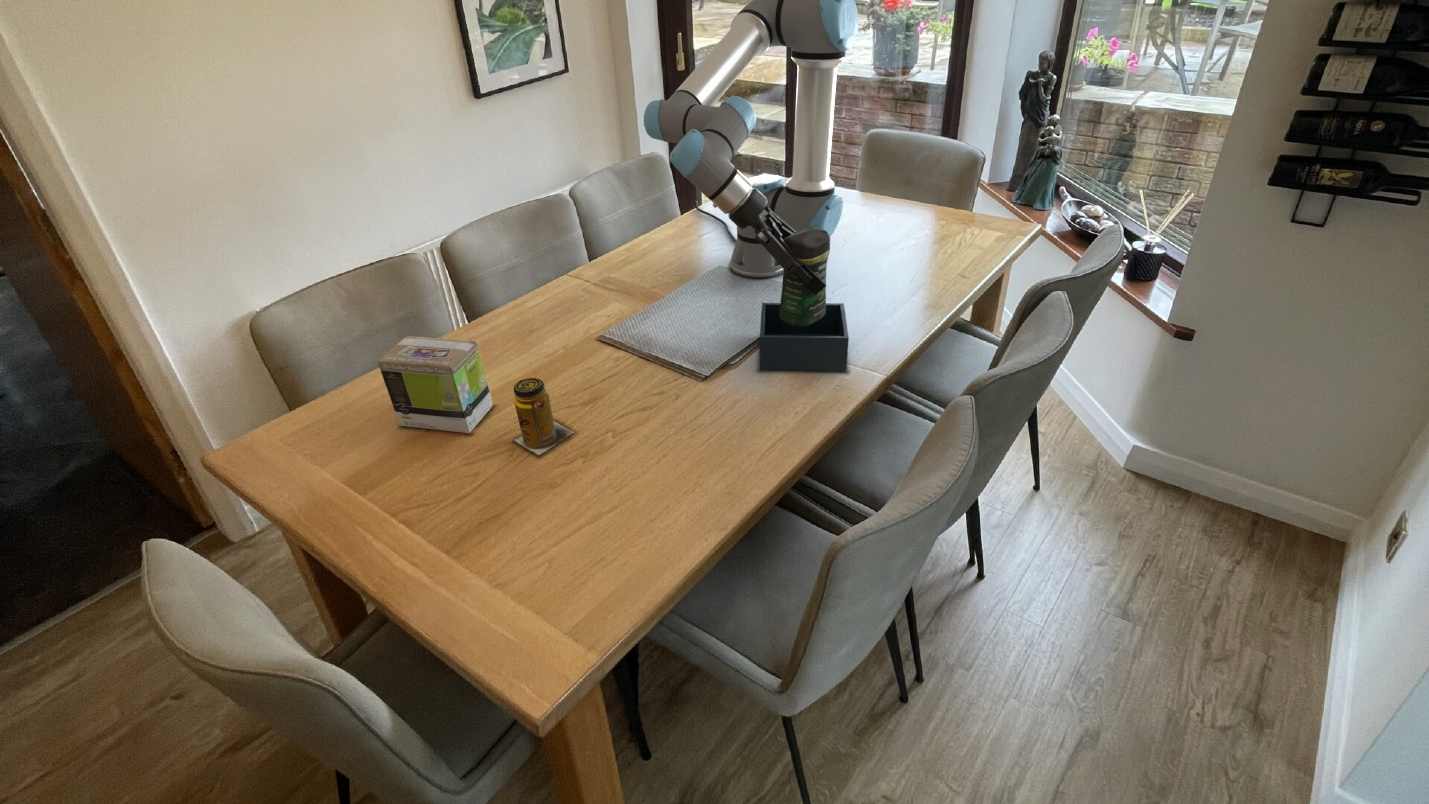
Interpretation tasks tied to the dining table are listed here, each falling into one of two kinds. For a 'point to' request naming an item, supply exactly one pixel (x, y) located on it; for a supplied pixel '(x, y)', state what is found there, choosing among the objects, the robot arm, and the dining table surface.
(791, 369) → the open storage box
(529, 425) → the condiment
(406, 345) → the tea box
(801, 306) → the coffee jar
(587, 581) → the dining table surface
